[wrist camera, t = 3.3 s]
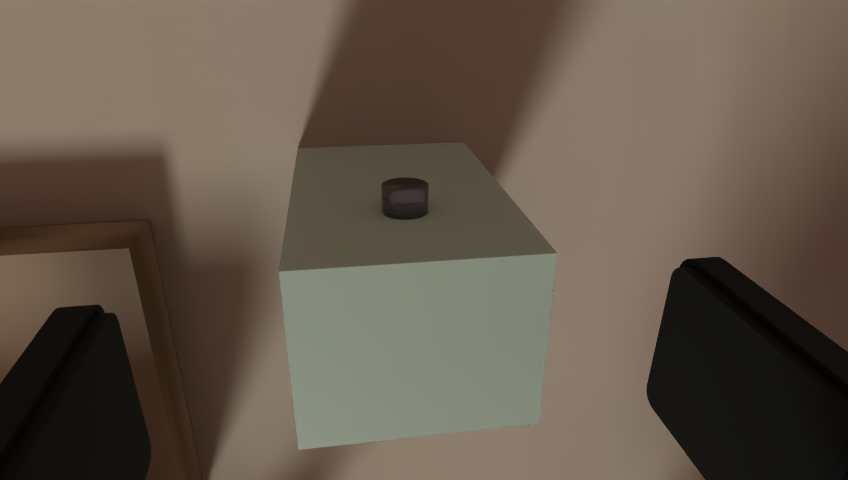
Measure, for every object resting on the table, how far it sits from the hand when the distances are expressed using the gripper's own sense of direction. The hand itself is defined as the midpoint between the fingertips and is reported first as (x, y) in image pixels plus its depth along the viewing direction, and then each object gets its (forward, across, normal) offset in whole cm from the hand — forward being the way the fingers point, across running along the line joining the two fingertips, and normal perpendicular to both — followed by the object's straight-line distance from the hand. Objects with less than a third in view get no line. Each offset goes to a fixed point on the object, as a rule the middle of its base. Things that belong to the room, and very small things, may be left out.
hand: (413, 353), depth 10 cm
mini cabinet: (+9, 0, +1) cm, 9 cm away
